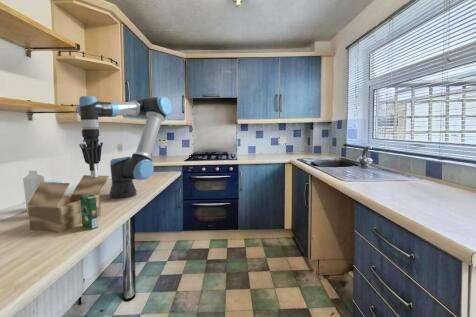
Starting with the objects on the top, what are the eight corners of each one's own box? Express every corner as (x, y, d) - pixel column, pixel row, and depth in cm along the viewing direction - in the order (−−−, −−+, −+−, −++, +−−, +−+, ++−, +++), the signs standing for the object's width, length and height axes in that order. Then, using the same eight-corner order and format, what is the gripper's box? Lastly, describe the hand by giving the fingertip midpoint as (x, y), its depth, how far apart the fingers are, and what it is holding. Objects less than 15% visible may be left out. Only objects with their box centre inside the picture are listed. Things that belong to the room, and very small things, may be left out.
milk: (35, 219, 132) (29, 172, 129) (27, 217, 135) (21, 171, 132) (48, 215, 138) (43, 170, 135) (40, 214, 140) (35, 169, 137)
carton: (73, 213, 139) (71, 193, 138) (101, 215, 135) (99, 194, 134) (30, 229, 118) (27, 206, 117) (61, 232, 114) (58, 207, 112)
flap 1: (41, 182, 122) (40, 182, 122) (70, 183, 118) (69, 183, 118) (28, 205, 117) (27, 205, 116) (57, 207, 113) (57, 206, 112)
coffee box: (99, 227, 118) (96, 196, 116) (92, 229, 115) (89, 198, 114) (89, 224, 123) (86, 194, 121) (82, 226, 120) (79, 195, 119)
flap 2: (72, 192, 138) (73, 193, 138) (98, 193, 134) (99, 194, 134) (83, 175, 144) (84, 175, 144) (109, 175, 140) (109, 176, 140)
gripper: (93, 128, 146) (97, 174, 148) (73, 129, 133) (77, 179, 136) (106, 128, 144) (109, 174, 146) (86, 128, 131) (90, 179, 134)
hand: (94, 176), depth 141 cm, fingers closed
